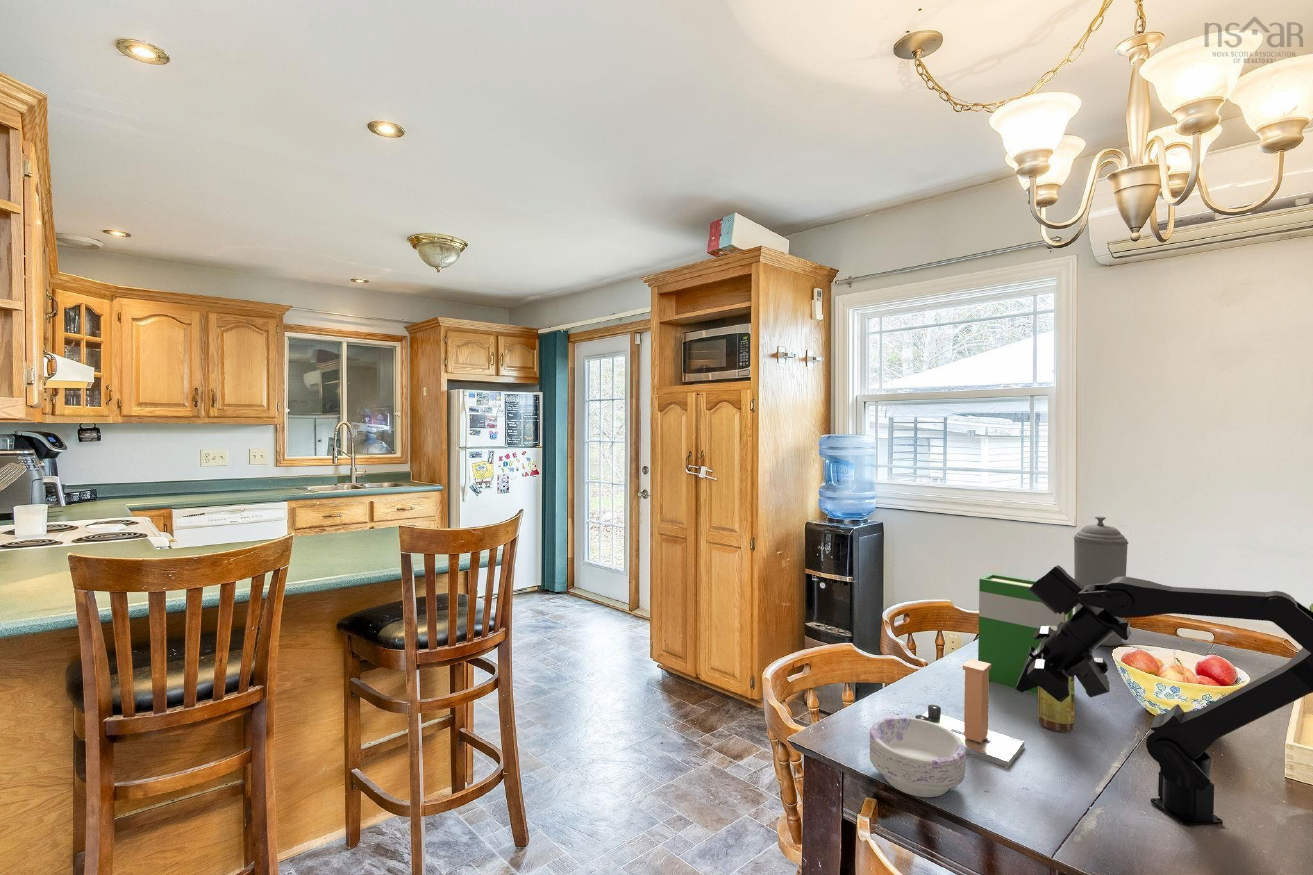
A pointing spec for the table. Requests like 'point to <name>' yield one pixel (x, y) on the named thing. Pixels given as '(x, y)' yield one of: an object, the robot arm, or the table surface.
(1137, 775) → the table surface
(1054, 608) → the robot arm
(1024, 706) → the table surface
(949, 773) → the paper bowls
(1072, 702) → the sauce bottle
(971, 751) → the fader console
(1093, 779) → the table surface
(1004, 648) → the hardback book
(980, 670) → the fader tab
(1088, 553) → the canister
